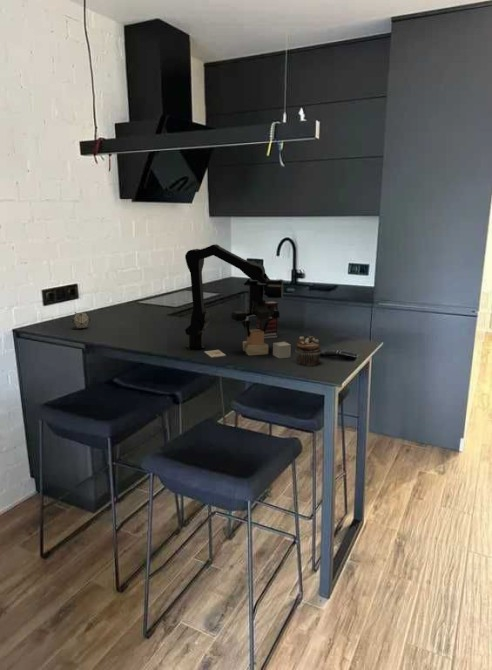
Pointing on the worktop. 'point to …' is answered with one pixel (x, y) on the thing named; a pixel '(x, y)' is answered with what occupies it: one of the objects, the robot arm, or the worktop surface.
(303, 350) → the cupcake
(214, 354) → the card
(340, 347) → the worktop surface
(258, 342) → the terracotta cube
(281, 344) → the grey plastic cube
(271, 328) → the supplement box
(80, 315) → the beige faceted ball
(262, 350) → the maple base block
